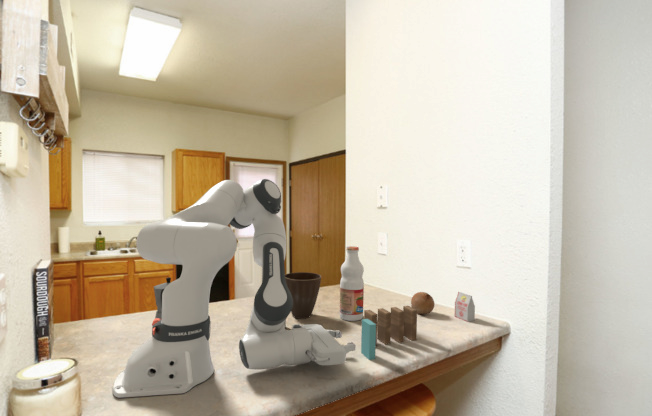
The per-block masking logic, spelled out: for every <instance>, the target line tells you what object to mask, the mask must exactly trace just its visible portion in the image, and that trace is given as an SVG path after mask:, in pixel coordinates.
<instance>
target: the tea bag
mask: <svg viewBox="0 0 652 416" xmlns="http://www.w3.org/2000/svg"><path fill="white" fill-rule="evenodd" d="M475 311H476V305H475V303H474V299H473V295H470V294H468V293H463V292H461V291H458V292H457V295H456V298H455V301H454V317H455V318H456V319H460V320H462V321H465V322H467V323H469V322H475V319H476V318H475V317H476V316H475V315H476V313H475Z"/></svg>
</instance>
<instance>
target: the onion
mask: <svg viewBox="0 0 652 416" xmlns="http://www.w3.org/2000/svg"><path fill="white" fill-rule="evenodd" d="M410 300H411V301H410V304H411V306H410V307H412V308H414V309H416V310H417V314H418V315H429V314H431V313H432V312H433V311H434V308H435V301H434V298H433V296H431V294H429V293H428V292H425V291H419V292H416V293H414V295H412V297H411V299H410Z"/></svg>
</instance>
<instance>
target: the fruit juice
mask: <svg viewBox="0 0 652 416" xmlns="http://www.w3.org/2000/svg"><path fill="white" fill-rule="evenodd" d="M345 249H346V258H345V260H344V262H343V263H342V264H341V266H340V273H341V278H340V281H339V317H340V319H342V320H343V321H347V322H348V321H350V322H354V321H362V319H364V293H365V291H364V289H365V288H364V287H365V285H364V284H365V282H364V278H363V275H364V266H363V264H362V262H361V261H360V258H359V251H360V248H359V246H346V248H345Z"/></svg>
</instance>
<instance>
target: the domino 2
mask: <svg viewBox="0 0 652 416" xmlns="http://www.w3.org/2000/svg"><path fill="white" fill-rule="evenodd" d="M391 339H392V338H391V311H389V310H387V309H385V308H377V341H379V342H380V343H382V344H383V345H391Z"/></svg>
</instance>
